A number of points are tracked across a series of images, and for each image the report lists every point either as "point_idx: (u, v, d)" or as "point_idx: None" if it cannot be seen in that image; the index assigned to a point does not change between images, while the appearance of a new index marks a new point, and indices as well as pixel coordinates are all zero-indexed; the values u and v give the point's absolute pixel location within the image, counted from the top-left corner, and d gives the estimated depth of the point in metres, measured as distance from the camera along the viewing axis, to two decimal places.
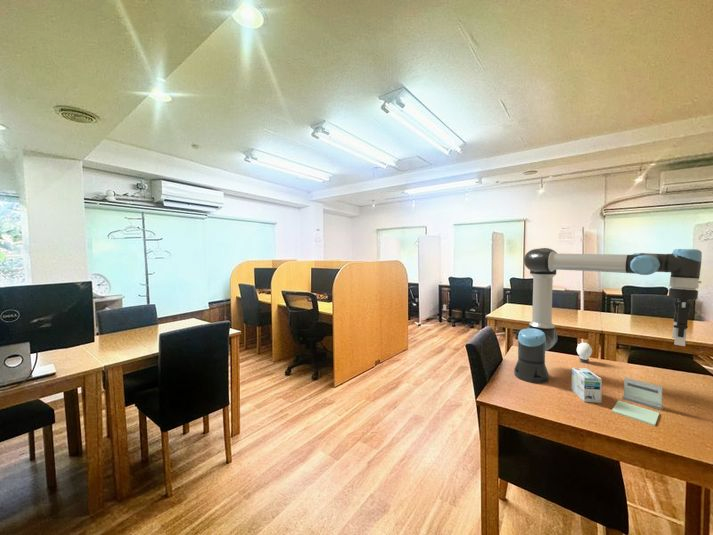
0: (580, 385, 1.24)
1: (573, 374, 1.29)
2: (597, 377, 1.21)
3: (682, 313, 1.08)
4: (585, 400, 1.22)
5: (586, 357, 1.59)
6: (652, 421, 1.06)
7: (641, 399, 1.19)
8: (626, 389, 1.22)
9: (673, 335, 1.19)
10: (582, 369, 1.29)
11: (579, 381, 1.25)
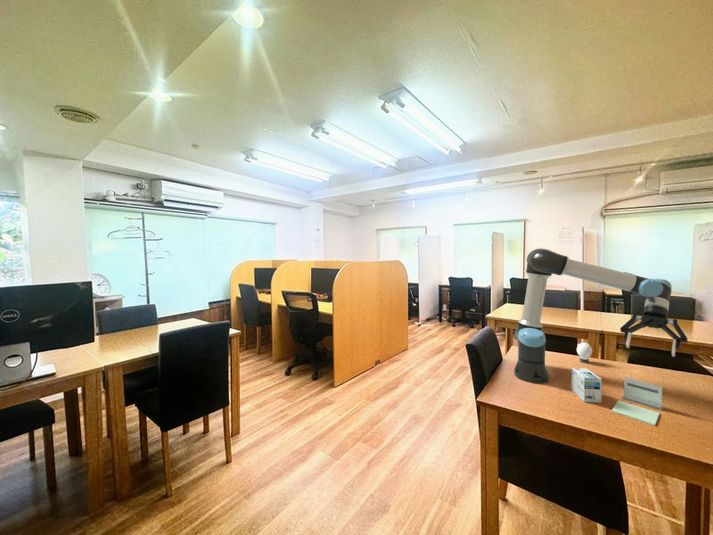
0: (580, 385, 1.24)
1: (573, 374, 1.29)
2: (597, 377, 1.21)
3: (680, 329, 1.19)
4: (585, 400, 1.22)
5: (586, 357, 1.59)
6: (652, 421, 1.06)
7: (641, 399, 1.19)
8: (626, 389, 1.22)
9: (628, 343, 1.26)
10: (582, 369, 1.29)
11: (579, 381, 1.25)
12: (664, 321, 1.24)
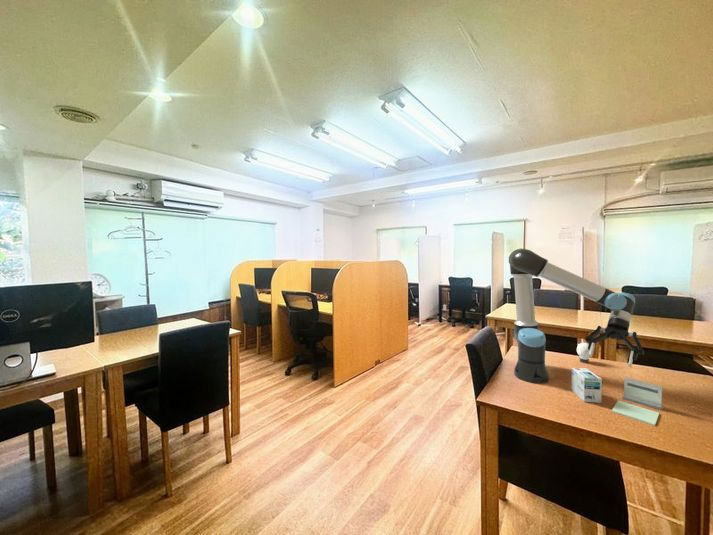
0: (580, 385, 1.24)
1: (573, 374, 1.29)
2: (597, 377, 1.21)
3: (638, 341, 1.27)
4: (585, 400, 1.22)
5: (586, 357, 1.59)
6: (652, 421, 1.06)
7: (641, 399, 1.19)
8: (626, 389, 1.22)
9: (591, 353, 1.34)
10: (582, 369, 1.29)
11: (579, 381, 1.25)
12: (625, 333, 1.31)
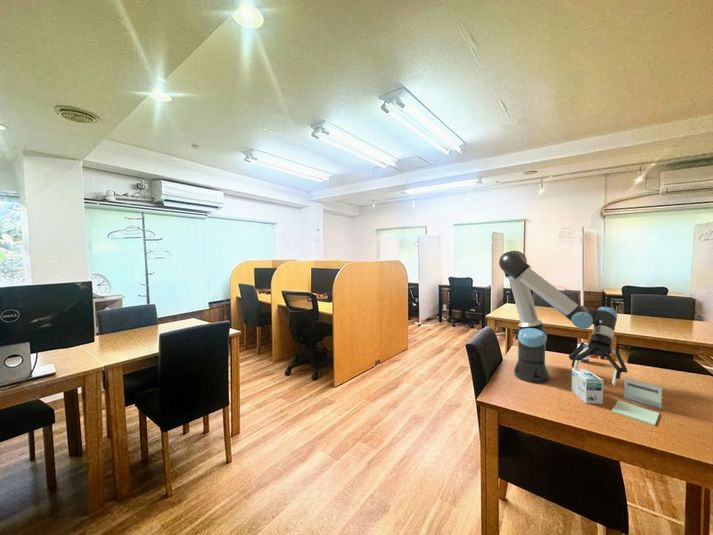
0: (582, 387, 1.23)
1: (573, 375, 1.28)
2: (598, 378, 1.20)
3: (621, 359, 1.24)
4: (587, 402, 1.20)
5: (586, 357, 1.59)
6: (652, 421, 1.06)
7: (641, 399, 1.19)
8: (626, 389, 1.22)
9: None
10: (582, 370, 1.28)
11: (580, 382, 1.24)
12: (608, 350, 1.28)
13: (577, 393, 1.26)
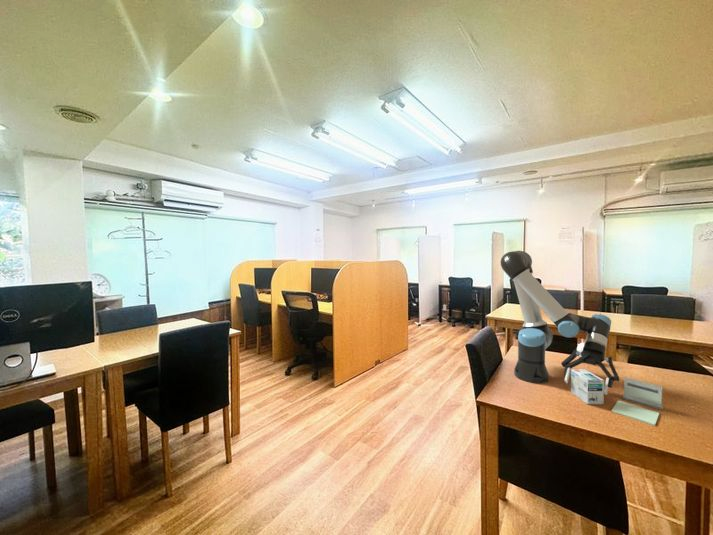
0: (583, 387, 1.22)
1: (573, 376, 1.27)
2: (599, 378, 1.20)
3: None
4: (588, 403, 1.20)
5: None
6: (652, 421, 1.06)
7: (641, 399, 1.19)
8: (626, 389, 1.22)
9: (566, 379, 1.29)
10: (581, 370, 1.27)
11: (581, 383, 1.23)
12: (600, 358, 1.27)
13: (577, 394, 1.25)
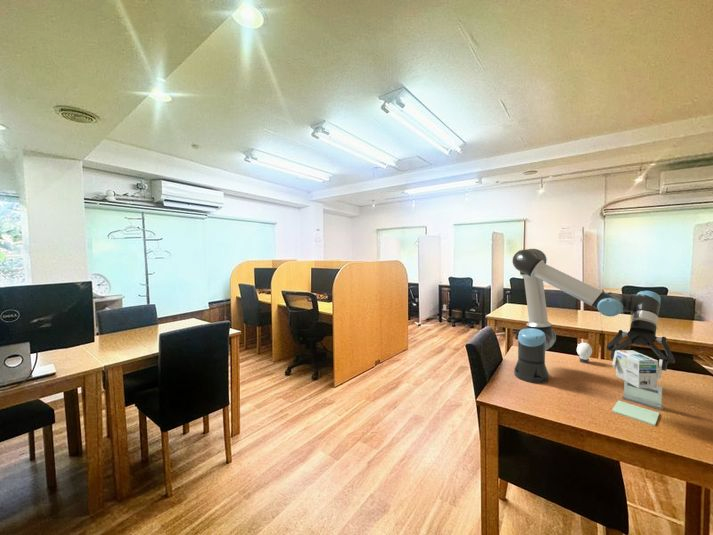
0: (632, 369, 1.08)
1: (620, 358, 1.14)
2: (652, 359, 1.06)
3: (668, 348, 1.09)
4: (640, 386, 1.06)
5: (586, 357, 1.59)
6: (652, 421, 1.06)
7: (641, 399, 1.19)
8: (626, 389, 1.22)
9: (615, 363, 1.15)
10: (629, 351, 1.14)
11: (630, 365, 1.09)
12: (652, 338, 1.13)
13: (625, 377, 1.12)
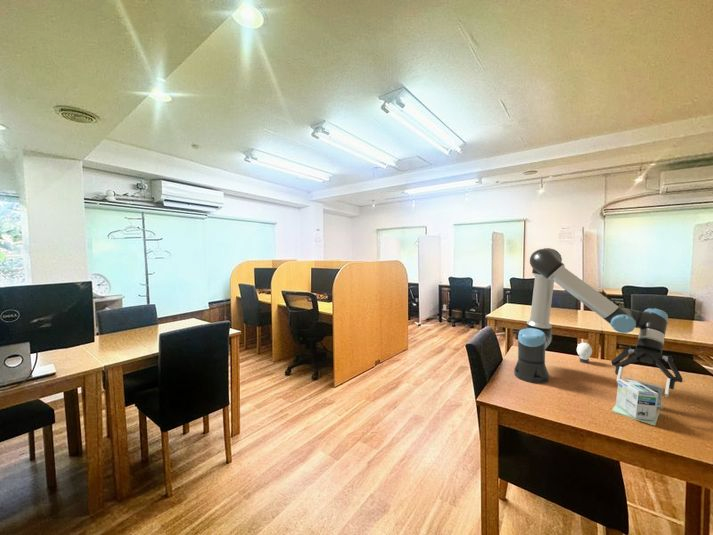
0: (631, 399, 1.10)
1: (621, 386, 1.15)
2: (652, 391, 1.07)
3: (675, 367, 1.11)
4: (637, 416, 1.07)
5: (586, 357, 1.59)
6: (652, 421, 1.06)
7: None
8: None
9: None
10: (631, 381, 1.15)
11: (629, 394, 1.11)
12: (658, 357, 1.15)
13: (624, 406, 1.13)
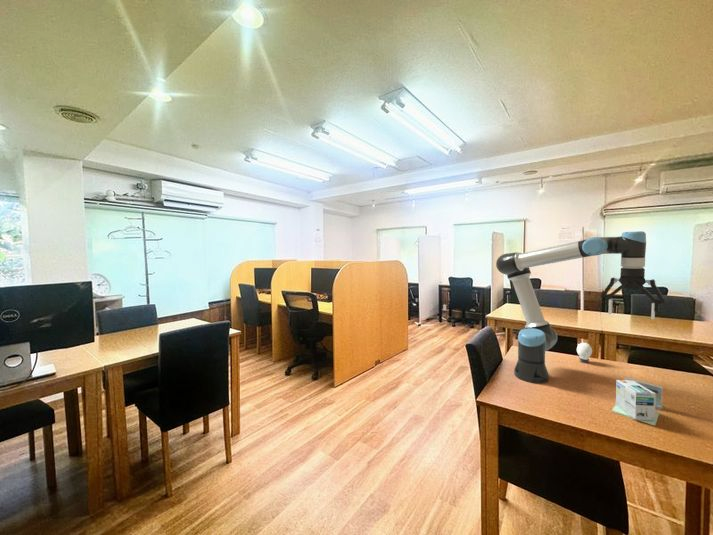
0: (630, 400, 1.10)
1: (619, 387, 1.15)
2: (650, 391, 1.07)
3: (658, 289, 1.18)
4: (637, 418, 1.08)
5: (586, 357, 1.59)
6: (652, 421, 1.06)
7: None
8: None
9: (610, 311, 1.30)
10: (629, 382, 1.15)
11: (628, 396, 1.11)
12: (641, 283, 1.21)
13: (623, 407, 1.13)
